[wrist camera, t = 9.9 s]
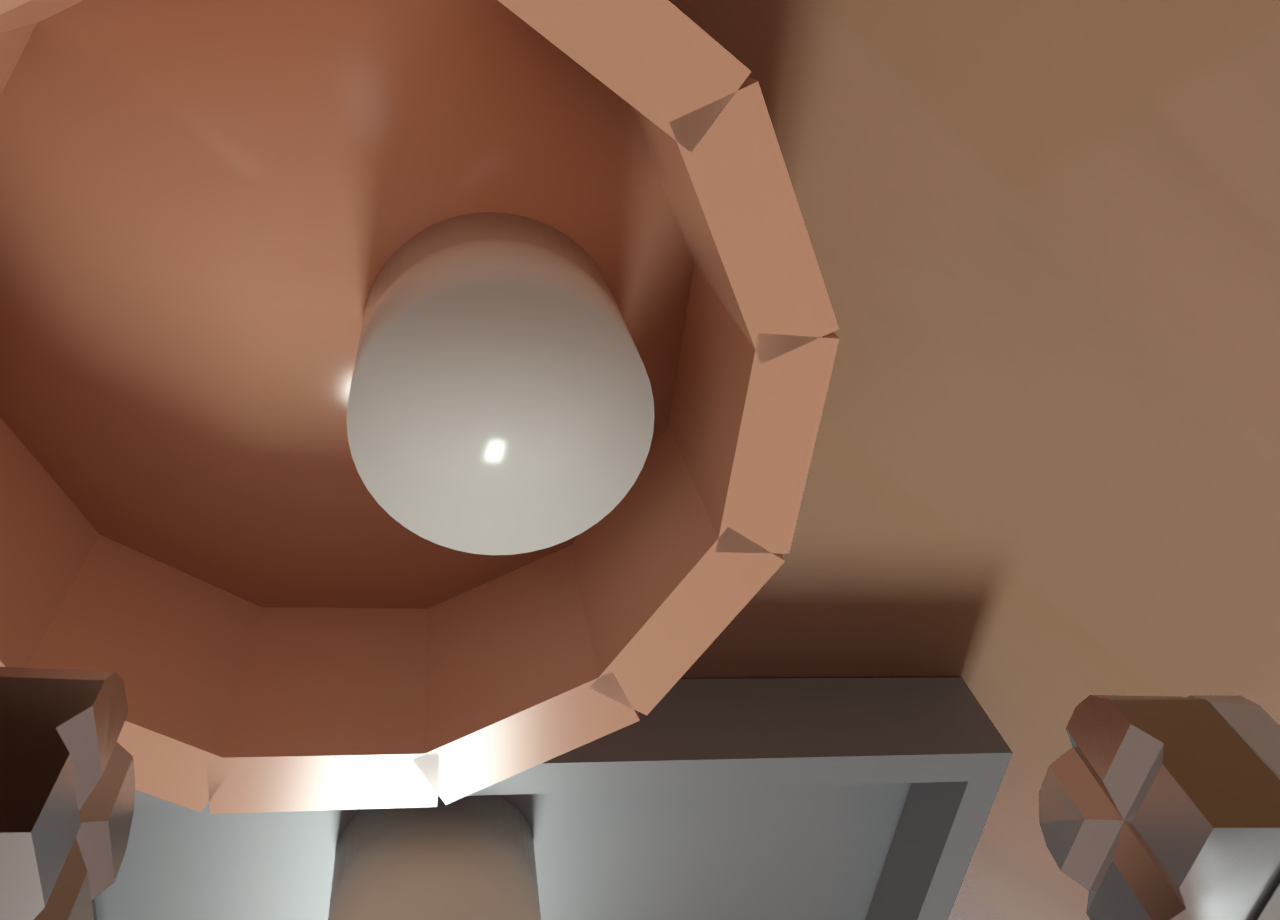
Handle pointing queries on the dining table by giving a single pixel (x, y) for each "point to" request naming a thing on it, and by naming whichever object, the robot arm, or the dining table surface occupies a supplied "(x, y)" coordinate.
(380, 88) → the terracotta bowl
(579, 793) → the parts tray
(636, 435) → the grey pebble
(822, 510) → the dining table surface
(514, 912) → the cream pebble
